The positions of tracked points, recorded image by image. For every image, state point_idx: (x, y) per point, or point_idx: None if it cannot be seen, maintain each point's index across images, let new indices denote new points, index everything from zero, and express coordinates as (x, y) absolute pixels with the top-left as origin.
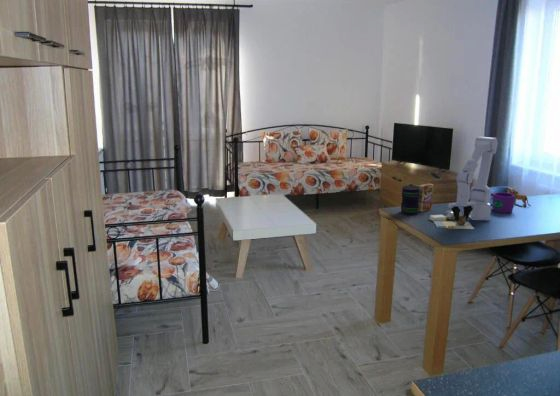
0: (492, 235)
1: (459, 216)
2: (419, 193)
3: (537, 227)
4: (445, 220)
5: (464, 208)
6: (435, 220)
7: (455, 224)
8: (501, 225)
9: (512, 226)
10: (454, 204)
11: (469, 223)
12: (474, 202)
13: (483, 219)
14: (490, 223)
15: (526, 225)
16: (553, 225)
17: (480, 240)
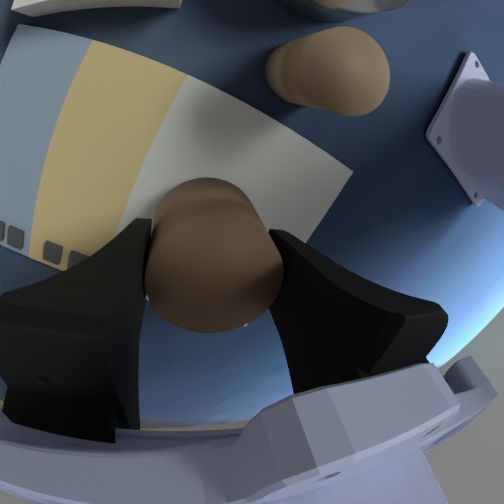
0: (252, 398)
1: (171, 299)
2: None
3: (468, 325)
4: (172, 7)
5: (346, 332)
6: (42, 12)
7: (159, 193)
8: (435, 288)
9: (444, 308)
10: (27, 500)
11: (323, 212)
12: (471, 418)
13: (466, 184)
14: (437, 244)
15: (475, 303)
16: (496, 312)
17: (147, 423)
